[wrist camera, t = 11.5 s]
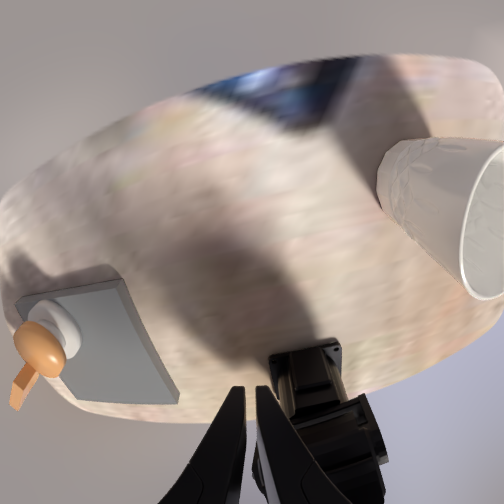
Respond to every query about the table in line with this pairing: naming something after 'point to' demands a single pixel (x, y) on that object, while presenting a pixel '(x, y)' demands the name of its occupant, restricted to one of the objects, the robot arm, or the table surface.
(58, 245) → the table surface
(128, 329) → the base
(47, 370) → the lever cap
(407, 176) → the white cup
